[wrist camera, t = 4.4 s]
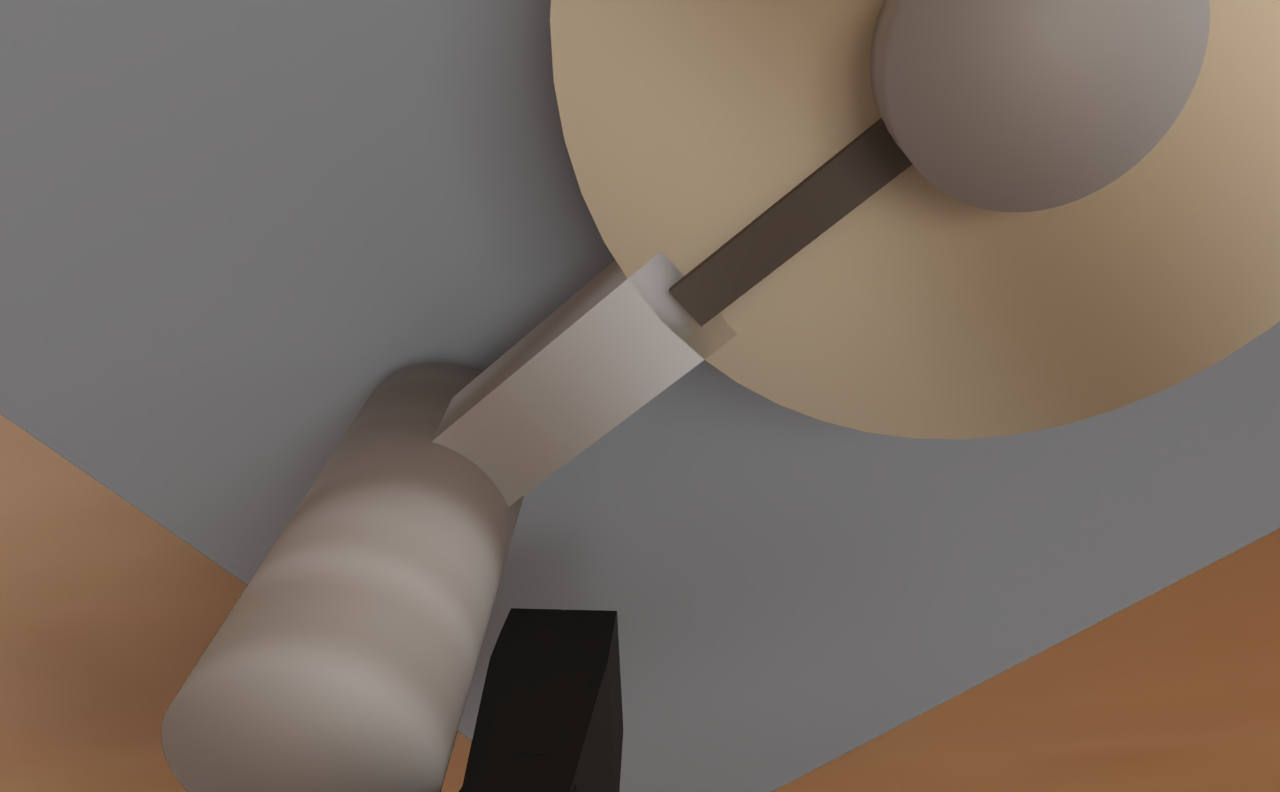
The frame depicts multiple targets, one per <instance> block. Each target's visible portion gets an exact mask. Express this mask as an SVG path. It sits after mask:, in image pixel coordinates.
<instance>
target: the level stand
mask: <svg viewBox="0 0 1280 792" xmlns="http://www.w3.org/2000/svg"><path fill="white" fill-rule="evenodd" d="M550 9H551V0H0V414H2V415H3V416H4V417H6V418H7V419H9V420H10V421H12V422H13V423H15V424H16V425H17V426H19V427H20V428H22V429H23V430H25V431H26V432H28V433H29V434H30V435H32V436H33V437H35V438H36V439H38V440H39V441H40V442H42V443H43V444H45V445H46V446H48V447H49V448H51V449H52V450H53V451H55V452H56V453H58V454H59V455H61V456H62V457H64V458H65V459H66V460H68V461H69V462H71V463H72V464H74V465H75V466H77V467H78V468H79V469H81V470H82V471H84V472H85V473H87V474H88V475H90V476H91V477H92V478H94V479H95V480H97V481H98V482H100V483H101V484H102V485H104V486H105V487H107V488H108V489H110V490H111V491H113V492H114V493H115V494H117V495H118V496H120V497H121V498H123V499H124V500H126V501H127V502H128V503H130V504H131V505H133V506H134V507H136V508H137V509H139V510H140V511H141V512H143V513H144V514H146V515H147V516H149V517H150V518H152V519H153V520H154V521H156V522H157V523H159V524H160V525H162V526H163V527H164V528H166V529H167V530H169V531H170V532H172V533H173V534H175V535H176V536H177V537H179V538H180V539H182V540H183V541H185V542H186V543H188V544H189V545H190V546H192V547H193V548H195V549H196V550H198V551H199V552H201V553H202V554H203V555H205V556H206V557H208V558H209V559H211V560H212V561H214V562H215V563H216V564H218V565H219V566H221V567H222V568H224V569H225V570H226V571H228V572H229V573H231V574H232V575H234V576H235V577H237V578H238V579H239V580H241V581H242V582H244V583H245V584H247V585H248V584H249V582H250V581H251V579H252V578H253V576H254V575H255V573H256V572H257V570H258V568H259V567H260V565H261V564H262V562H263V561H264V559H265V558H266V556H267V554H268V553H269V551H270V550H271V548H272V547H273V545H274V544H275V542H276V541H277V539H278V537H279V536H280V534H281V533H282V531H283V530H284V528H285V527H286V525H287V524H288V522H289V520H290V519H291V517H292V516H293V514H294V513H295V511H296V510H297V508H298V506H299V505H300V503H301V502H302V500H303V499H304V497H305V496H306V494H307V493H308V491H309V489H310V488H311V486H312V485H313V483H314V482H315V480H316V479H317V477H318V476H319V474H320V472H321V471H322V469H323V468H324V466H325V465H326V463H327V462H328V460H329V458H330V457H331V455H332V454H333V452H334V451H335V449H336V448H337V446H338V445H339V443H340V441H341V440H342V438H343V437H344V435H345V434H346V432H347V431H348V429H349V428H350V426H351V424H352V423H353V421H354V420H355V418H356V417H357V415H358V414H359V412H360V410H361V409H362V407H363V406H364V404H365V403H366V401H367V400H368V398H369V397H370V395H371V394H372V392H373V391H374V389H375V388H376V387H377V386H378V385H379V384H380V383H381V382H382V381H383V380H384V379H386V378H387V377H388V376H390V375H391V374H393V373H395V372H397V371H399V370H401V369H404V368H406V367H409V366H413V365H417V364H423V363H450V364H457V365H461V366H465V367H468V368H471V369H474V370H476V371H479V372H481V373H482V372H483V371H485V370H486V369H487V368H488V367H489V366H490V365H492V364H493V363H494V362H495V361H496V360H498V359H499V358H500V357H501V356H502V355H503V354H505V353H506V352H507V351H508V350H509V349H511V348H512V347H513V346H514V345H515V344H516V343H518V342H519V341H520V340H521V339H522V338H524V337H525V336H526V335H527V334H528V333H529V332H531V331H532V330H533V329H534V328H535V327H537V326H538V325H539V324H540V323H541V322H542V321H544V320H545V319H546V318H547V317H548V316H550V315H551V314H552V313H553V312H554V311H555V310H557V309H558V308H559V307H560V306H561V305H563V304H564V303H565V302H566V301H567V300H568V299H570V298H571V297H572V296H573V295H574V294H575V293H577V292H578V291H579V290H580V289H581V288H583V287H584V286H585V285H586V284H587V283H588V282H590V281H591V280H592V279H593V278H594V277H596V276H597V275H598V274H599V273H600V272H601V271H603V270H604V269H605V268H606V267H607V266H609V265H610V264H611V263H612V262H613V261H614V260H615V258H614V257H613V255H612V254H611V252H610V251H609V249H608V247H607V246H606V244H605V243H604V241H603V239H602V237H601V234H600V232H599V230H598V228H597V226H596V224H595V222H594V219H593V217H592V215H591V213H590V211H589V209H588V207H587V204H586V202H585V200H584V198H583V196H582V194H581V190H580V187H579V184H578V181H577V178H576V175H575V172H574V169H573V165H572V162H571V159H570V156H569V153H568V150H567V147H566V144H565V140H564V135H563V130H562V124H561V119H560V113H559V108H558V103H557V97H556V92H555V87H554V79H553V63H552V46H551V30H550ZM1279 528H1280V321H1279V322H1278V323H1276V324H1275V325H1274V326H1272V327H1271V328H1270V329H1269V330H1267V331H1265V332H1264V333H1262V334H1261V335H1259V336H1258V337H1256V338H1255V339H1253V340H1252V341H1250V342H1248V343H1247V344H1245V345H1244V346H1242V347H1241V348H1239V349H1238V350H1236V351H1235V352H1233V353H1232V354H1230V355H1228V356H1227V357H1225V358H1224V359H1222V360H1221V361H1219V362H1217V363H1215V364H1214V365H1212V366H1210V367H1208V368H1206V369H1204V370H1202V371H1200V372H1198V373H1196V374H1194V375H1193V376H1191V377H1189V378H1187V379H1185V380H1183V381H1181V382H1179V383H1177V384H1175V385H1174V386H1172V387H1170V388H1168V389H1165V390H1163V391H1160V392H1158V393H1156V394H1153V395H1151V396H1148V397H1146V398H1143V399H1141V400H1138V401H1136V402H1134V403H1131V404H1129V405H1126V406H1124V407H1121V408H1119V409H1116V410H1113V411H1110V412H1106V413H1103V414H1100V415H1097V416H1093V417H1090V418H1087V419H1083V420H1080V421H1077V422H1073V423H1070V424H1067V425H1062V426H1057V427H1052V428H1047V429H1042V430H1037V431H1032V432H1026V433H1021V434H1016V435H1007V436H996V437H985V438H974V439H915V438H907V437H899V436H891V435H884V434H876V433H868V432H864V431H860V430H856V429H852V428H848V427H844V426H840V425H836V424H832V423H828V422H824V421H821V420H818V419H815V418H813V417H810V416H807V415H805V414H802V413H799V412H797V411H794V410H792V409H789V408H786V407H784V406H781V405H778V404H776V403H775V402H773V401H771V400H769V399H767V398H765V397H763V396H761V395H759V394H758V393H756V392H754V391H752V390H750V389H748V388H746V387H744V386H742V385H741V384H739V383H737V382H735V381H734V380H733V379H731V378H730V377H728V376H727V375H726V374H724V373H723V372H721V371H720V370H718V369H717V368H716V367H714V366H713V365H711V364H710V363H708V362H707V361H706V360H704V361H702V362H701V363H700V364H698V365H697V366H696V367H694V368H693V369H692V370H690V371H689V372H688V373H686V374H685V375H684V376H682V377H681V378H680V379H678V380H677V381H676V382H674V383H673V384H672V385H670V386H669V387H668V388H666V389H665V390H664V391H662V392H661V393H660V394H658V395H657V396H656V397H654V398H653V399H652V400H650V401H649V402H648V403H646V404H645V405H644V406H642V407H641V408H640V409H638V410H637V411H636V412H634V413H633V414H632V415H630V416H629V417H628V418H626V419H625V420H624V421H622V422H621V423H620V424H618V425H617V426H616V427H614V428H613V429H612V430H610V431H609V432H608V433H606V434H605V435H604V436H602V437H601V438H600V439H598V440H597V441H596V442H594V443H593V444H592V445H590V446H589V447H588V448H586V449H585V450H584V451H582V452H581V453H580V454H578V455H577V456H576V457H574V458H573V459H572V460H570V461H569V462H568V463H566V464H565V465H564V466H562V467H561V468H560V469H558V470H557V471H556V472H554V473H553V474H552V475H550V476H549V477H548V478H546V479H545V480H544V481H542V482H541V483H540V484H538V485H537V486H536V487H534V488H533V489H532V490H530V491H529V492H528V493H526V494H525V495H524V498H523V501H522V505H521V508H520V512H519V515H518V519H517V522H516V526H515V530H514V533H513V537H512V540H511V544H510V547H509V551H508V554H507V558H506V561H505V565H504V568H503V572H502V576H501V579H500V583H499V586H498V590H497V593H496V597H495V600H494V604H493V607H492V611H491V615H490V618H489V622H488V625H487V629H486V632H485V636H484V639H483V643H482V646H481V650H480V654H479V657H478V661H477V664H476V668H475V671H474V675H473V678H472V682H471V685H470V689H469V693H468V696H467V700H466V703H465V707H464V710H463V714H462V717H461V721H460V724H459V728H458V731H459V732H460V733H461V734H463V735H464V736H466V737H467V738H469V739H470V740H472V739H473V735H474V730H475V725H476V720H477V715H478V711H479V706H480V701H481V697H482V692H483V687H484V683H485V678H486V674H487V669H488V665H489V660H490V657H491V654H492V652H493V649H494V647H495V644H496V642H497V639H498V637H499V634H500V632H501V629H502V627H503V625H504V623H505V621H506V618H507V616H508V614H509V612H510V610H511V608H522V609H563V610H604V611H617V618H618V637H619V656H620V675H621V694H622V713H623V744H622V760H621V775H620V790H619V792H772V791H774V790H776V789H778V788H780V787H782V786H784V785H786V784H788V783H790V782H792V781H794V780H795V779H797V778H799V777H801V776H803V775H805V774H807V773H809V772H811V771H813V770H815V769H817V768H819V767H821V766H822V765H824V764H826V763H828V762H830V761H832V760H834V759H836V758H838V757H840V756H842V755H844V754H846V753H848V752H849V751H851V750H853V749H855V748H857V747H859V746H861V745H863V744H865V743H867V742H869V741H871V740H873V739H874V738H876V737H878V736H880V735H882V734H884V733H886V732H888V731H890V730H892V729H894V728H896V727H898V726H900V725H901V724H903V723H905V722H907V721H909V720H911V719H913V718H915V717H917V716H919V715H921V714H923V713H925V712H927V711H928V710H930V709H932V708H934V707H936V706H938V705H940V704H942V703H944V702H946V701H948V700H950V699H952V698H954V697H955V696H957V695H959V694H961V693H963V692H965V691H967V690H969V689H971V688H973V687H975V686H977V685H979V684H980V683H982V682H984V681H986V680H988V679H990V678H992V677H994V676H996V675H998V674H1000V673H1002V672H1004V671H1006V670H1007V669H1009V668H1011V667H1013V666H1015V665H1017V664H1019V663H1021V662H1023V661H1025V660H1027V659H1029V658H1031V657H1033V656H1034V655H1036V654H1038V653H1040V652H1042V651H1044V650H1046V649H1048V648H1050V647H1052V646H1054V645H1056V644H1058V643H1060V642H1061V641H1063V640H1065V639H1067V638H1069V637H1071V636H1073V635H1075V634H1077V633H1079V632H1081V631H1083V630H1085V629H1086V628H1088V627H1090V626H1092V625H1094V624H1096V623H1098V622H1100V621H1102V620H1104V619H1106V618H1108V617H1110V616H1112V615H1113V614H1115V613H1117V612H1119V611H1121V610H1123V609H1125V608H1127V607H1129V606H1131V605H1133V604H1135V603H1137V602H1139V601H1140V600H1142V599H1144V598H1146V597H1148V596H1150V595H1152V594H1154V593H1156V592H1158V591H1160V590H1162V589H1164V588H1166V587H1167V586H1169V585H1171V584H1173V583H1175V582H1177V581H1179V580H1181V579H1183V578H1185V577H1187V576H1189V575H1191V574H1192V573H1194V572H1196V571H1198V570H1200V569H1202V568H1204V567H1206V566H1208V565H1210V564H1212V563H1214V562H1216V561H1218V560H1219V559H1221V558H1223V557H1225V556H1227V555H1229V554H1231V553H1233V552H1235V551H1237V550H1239V549H1241V548H1243V547H1245V546H1246V545H1248V544H1250V543H1252V542H1254V541H1256V540H1258V539H1260V538H1262V537H1264V536H1266V535H1268V534H1270V533H1272V532H1273V531H1275V530H1277V529H1279Z"/></svg>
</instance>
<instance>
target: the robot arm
mask: <svg viewBox="0 0 1280 792" xmlns="http://www.w3.org/2000/svg"><path fill="white" fill-rule="evenodd" d="M622 744H623V713H622V694H621V675H620V656H619V637H618V618H617V611H604V610H563V609H522V608H511V610H510V612H509V614H508V616H507V618H506V621H505V623H504V625H503V627H502V629H501V632H500V634H499V637H498V639H497V642H496V644H495V647H494V649H493V652H492V654H491V657H490V660H489V665H488V669H487V674H486V678H485V683H484V687H483V692H482V697H481V701H480V706H479V711H478V715H477V720H476V725H475V730H474V735H473V739H472V744H471V749H470V754H469V758H468V763H467V768H466V773H465V778H464V782H463V786H462V788H461V789H460V791H459V792H619V790H620V775H621V760H622Z"/></svg>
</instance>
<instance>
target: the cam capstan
mask: <svg viewBox="0 0 1280 792" xmlns="http://www.w3.org/2000/svg"><path fill="white" fill-rule="evenodd" d="M550 30H551V46H552V63H553V79H554V87H555V92H556V97H557V103H558V108H559V113H560V119H561V124H562V130H563V135H564V140H565V144H566V147H567V150H568V153H569V156H570V159H571V162H572V165H573V169H574V172H575V175H576V178H577V181H578V184H579V187H580V190H581V194H582V196H583V198H584V200H585V202H586V204H587V207H588V209H589V211H590V213H591V215H592V217H593V219H594V222H595V224H596V226H597V228H598V230H599V232H600V234H601V237H602V239H603V241H604V243H605V244H606V246H607V247H608V249H609V251H610V252H611V254H612V255H613V257H614V258H615V260H614V261H613V262H612V263H611V264H610V265H609V266H607V267H606V268H605V269H604V270H603V271H601V272H600V273H599V274H598V275H597V276H596V277H594V278H593V279H592V280H591V281H590V282H588V283H587V284H586V285H585V286H584V287H583V288H581V289H580V290H579V291H578V292H577V293H575V294H574V295H573V296H572V297H571V298H570V299H568V300H567V301H566V302H565V303H564V304H563V305H561V306H560V307H559V308H558V309H557V310H555V311H554V312H553V313H552V314H551V315H550V316H548V317H547V318H546V319H545V320H544V321H542V322H541V323H540V324H539V325H538V326H537V327H535V328H534V329H533V330H532V331H531V332H529V333H528V334H527V335H526V336H525V337H524V338H522V339H521V340H520V341H519V342H518V343H516V344H515V345H514V346H513V347H512V348H511V349H509V350H508V351H507V352H506V353H505V354H503V355H502V356H501V357H500V358H499V359H498V360H496V361H495V362H494V363H493V364H492V365H490V366H489V367H488V368H487V369H486V370H485V371H483V372H482V373H481V372H479V371H476V370H474V369H471V368H468V367H465V366H461V365H457V364H450V363H423V364H417V365H413V366H409V367H406V368H404V369H401V370H399V371H397V372H395V373H393V374H391V375H390V376H388V377H387V378H386V379H384V380H383V381H382V382H381V383H380V384H379V385H378V386H377V387H376V388H375V389H374V391H373V392H372V394H371V395H370V397H369V398H368V400H367V401H366V403H365V404H364V406H363V407H362V409H361V410H360V412H359V414H358V415H357V417H356V418H355V420H354V421H353V423H352V424H351V426H350V428H349V429H348V431H347V432H346V434H345V435H344V437H343V438H342V440H341V441H340V443H339V445H338V446H337V448H336V449H335V451H334V452H333V454H332V455H331V457H330V458H329V460H328V462H327V463H326V465H325V466H324V468H323V469H322V471H321V472H320V474H319V476H318V477H317V479H316V480H315V482H314V483H313V485H312V486H311V488H310V489H309V491H308V493H307V494H306V496H305V497H304V499H303V500H302V502H301V503H300V505H299V506H298V508H297V510H296V511H295V513H294V514H293V516H292V517H291V519H290V520H289V522H288V524H287V525H286V527H285V528H284V530H283V531H282V533H281V534H280V536H279V537H278V539H277V541H276V542H275V544H274V545H273V547H272V548H271V550H270V551H269V553H268V554H267V556H266V558H265V559H264V561H263V562H262V564H261V565H260V567H259V568H258V570H257V572H256V573H255V575H254V576H253V578H252V579H251V581H250V582H249V584H248V585H247V587H246V589H245V590H244V592H243V593H242V595H241V596H240V598H239V599H238V601H237V602H236V604H235V606H234V607H233V609H232V610H231V612H230V613H229V615H228V616H227V618H226V620H225V621H224V623H223V624H222V626H221V627H220V629H219V630H218V632H217V633H216V635H215V637H214V638H213V640H212V641H211V643H210V644H209V646H208V647H207V649H206V651H205V652H204V654H203V655H202V657H201V658H200V660H199V661H198V663H197V664H196V666H195V668H194V669H193V671H192V672H191V674H190V675H189V677H188V678H187V680H186V681H185V683H184V685H183V686H182V688H181V689H180V691H179V692H178V694H177V695H176V697H175V699H174V700H173V702H172V703H171V705H170V706H169V708H168V710H167V712H166V714H165V717H164V719H163V724H162V730H161V738H162V747H163V751H164V755H165V757H166V760H167V762H168V764H169V767H170V769H171V770H172V772H173V773H174V775H175V777H176V778H177V780H178V781H179V782H180V783H181V785H182V786H183V787H184V788H185V789H186V791H187V792H441V788H442V785H443V781H444V778H445V774H446V771H447V767H448V763H449V760H450V756H451V753H452V749H453V746H454V742H455V739H456V735H457V732H458V728H459V724H460V721H461V717H462V714H463V710H464V707H465V703H466V700H467V696H468V693H469V689H470V685H471V682H472V678H473V675H474V671H475V668H476V664H477V661H478V657H479V654H480V650H481V646H482V643H483V639H484V636H485V632H486V629H487V625H488V622H489V618H490V615H491V611H492V607H493V604H494V600H495V597H496V593H497V590H498V586H499V583H500V579H501V576H502V572H503V568H504V565H505V561H506V558H507V554H508V551H509V547H510V544H511V540H512V537H513V533H514V530H515V526H516V522H517V519H518V515H519V512H520V508H521V505H522V501H523V498H524V495H525V494H526V493H528V492H529V491H530V490H532V489H533V488H534V487H536V486H537V485H538V484H540V483H541V482H542V481H544V480H545V479H546V478H548V477H549V476H550V475H552V474H553V473H554V472H556V471H557V470H558V469H560V468H561V467H562V466H564V465H565V464H566V463H568V462H569V461H570V460H572V459H573V458H574V457H576V456H577V455H578V454H580V453H581V452H582V451H584V450H585V449H586V448H588V447H589V446H590V445H592V444H593V443H594V442H596V441H597V440H598V439H600V438H601V437H602V436H604V435H605V434H606V433H608V432H609V431H610V430H612V429H613V428H614V427H616V426H617V425H618V424H620V423H621V422H622V421H624V420H625V419H626V418H628V417H629V416H630V415H632V414H633V413H634V412H636V411H637V410H638V409H640V408H641V407H642V406H644V405H645V404H646V403H648V402H649V401H650V400H652V399H653V398H654V397H656V396H657V395H658V394H660V393H661V392H662V391H664V390H665V389H666V388H668V387H669V386H670V385H672V384H673V383H674V382H676V381H677V380H678V379H680V378H681V377H682V376H684V375H685V374H686V373H688V372H689V371H690V370H692V369H693V368H694V367H696V366H697V365H698V364H700V363H701V362H702V361H704V360H706V361H707V362H708V363H710V364H711V365H713V366H714V367H716V368H717V369H718V370H720V371H721V372H723V373H724V374H726V375H727V376H728V377H730V378H731V379H733V380H734V381H735V382H737V383H739V384H741V385H742V386H744V387H746V388H748V389H750V390H752V391H754V392H756V393H758V394H759V395H761V396H763V397H765V398H767V399H769V400H771V401H773V402H775V403H776V404H778V405H781V406H784V407H786V408H789V409H792V410H794V411H797V412H799V413H802V414H805V415H807V416H810V417H813V418H815V419H818V420H821V421H824V422H828V423H832V424H836V425H840V426H844V427H848V428H852V429H856V430H860V431H864V432H868V433H876V434H884V435H891V436H899V437H907V438H915V439H974V438H985V437H996V436H1007V435H1016V434H1021V433H1026V432H1032V431H1037V430H1042V429H1047V428H1052V427H1057V426H1062V425H1067V424H1070V423H1073V422H1077V421H1080V420H1083V419H1087V418H1090V417H1093V416H1097V415H1100V414H1103V413H1106V412H1110V411H1113V410H1116V409H1119V408H1121V407H1124V406H1126V405H1129V404H1131V403H1134V402H1136V401H1138V400H1141V399H1143V398H1146V397H1148V396H1151V395H1153V394H1156V393H1158V392H1160V391H1163V390H1165V389H1168V388H1170V387H1172V386H1174V385H1175V384H1177V383H1179V382H1181V381H1183V380H1185V379H1187V378H1189V377H1191V376H1193V375H1194V374H1196V373H1198V372H1200V371H1202V370H1204V369H1206V368H1208V367H1210V366H1212V365H1214V364H1215V363H1217V362H1219V361H1221V360H1222V359H1224V358H1225V357H1227V356H1228V355H1230V354H1232V353H1233V352H1235V351H1236V350H1238V349H1239V348H1241V347H1242V346H1244V345H1245V344H1247V343H1248V342H1250V341H1252V340H1253V339H1255V338H1256V337H1258V336H1259V335H1261V334H1262V333H1264V332H1265V331H1267V330H1269V329H1270V328H1271V327H1272V326H1274V325H1275V324H1276V323H1278V322H1279V321H1280V0H551V9H550Z"/></svg>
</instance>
